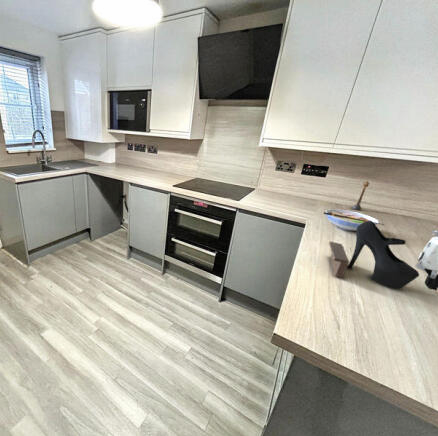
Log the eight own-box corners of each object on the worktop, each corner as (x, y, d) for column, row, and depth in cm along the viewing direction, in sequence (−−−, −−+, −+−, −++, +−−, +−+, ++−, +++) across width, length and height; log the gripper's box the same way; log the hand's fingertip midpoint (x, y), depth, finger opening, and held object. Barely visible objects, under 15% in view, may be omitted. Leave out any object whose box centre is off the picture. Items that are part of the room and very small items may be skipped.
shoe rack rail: (335, 259, 97) (341, 244, 94) (341, 278, 84) (349, 261, 81) (324, 256, 99) (329, 241, 96) (328, 274, 86) (334, 258, 83)
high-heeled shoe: (406, 296, 76) (437, 241, 69) (337, 267, 91) (357, 219, 83) (412, 288, 80) (442, 236, 73) (346, 262, 95) (365, 216, 87)
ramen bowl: (371, 227, 133) (377, 214, 130) (380, 242, 115) (387, 226, 112) (318, 217, 145) (322, 204, 142) (319, 228, 127) (324, 214, 124)
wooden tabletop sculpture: (361, 211, 162) (373, 182, 155) (352, 209, 164) (364, 181, 157) (359, 209, 167) (370, 181, 159) (351, 207, 169) (362, 180, 162)
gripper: (427, 236, 72) (403, 286, 79) (503, 248, 65) (471, 302, 72) (417, 228, 79) (396, 275, 85) (485, 238, 72) (457, 289, 78)
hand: (430, 287), depth 78 cm, fingers closed
